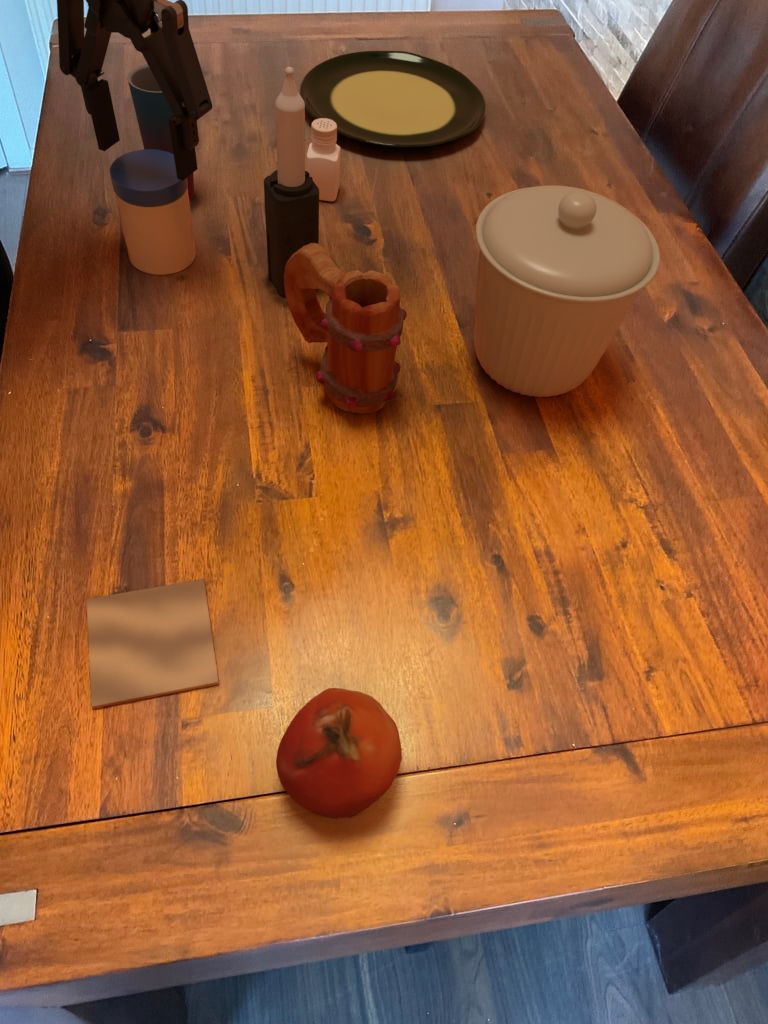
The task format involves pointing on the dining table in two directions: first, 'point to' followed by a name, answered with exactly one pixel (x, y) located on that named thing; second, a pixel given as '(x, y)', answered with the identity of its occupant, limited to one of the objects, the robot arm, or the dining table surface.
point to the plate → (393, 98)
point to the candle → (289, 187)
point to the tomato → (339, 754)
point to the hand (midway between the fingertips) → (148, 159)
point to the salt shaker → (324, 158)
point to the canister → (555, 284)
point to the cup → (153, 113)
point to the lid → (147, 178)
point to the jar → (158, 235)
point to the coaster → (150, 643)
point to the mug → (348, 327)
